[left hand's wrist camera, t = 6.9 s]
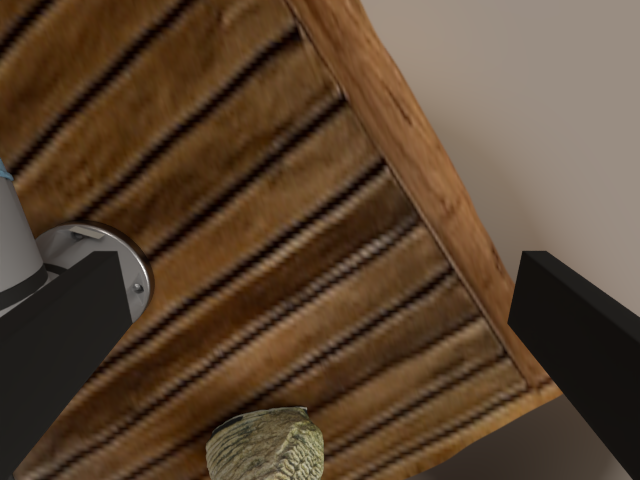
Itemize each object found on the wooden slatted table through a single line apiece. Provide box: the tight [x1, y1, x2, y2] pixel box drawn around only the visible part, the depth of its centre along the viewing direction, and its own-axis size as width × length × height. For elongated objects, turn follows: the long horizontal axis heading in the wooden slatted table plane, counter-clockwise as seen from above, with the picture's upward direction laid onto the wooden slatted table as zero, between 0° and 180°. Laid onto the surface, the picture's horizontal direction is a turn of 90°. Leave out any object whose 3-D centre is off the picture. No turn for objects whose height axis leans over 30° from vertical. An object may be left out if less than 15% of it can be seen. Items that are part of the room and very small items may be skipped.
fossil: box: [206, 407, 324, 480], centre depth 52 cm, size 9×18×15 cm, turn 121°
